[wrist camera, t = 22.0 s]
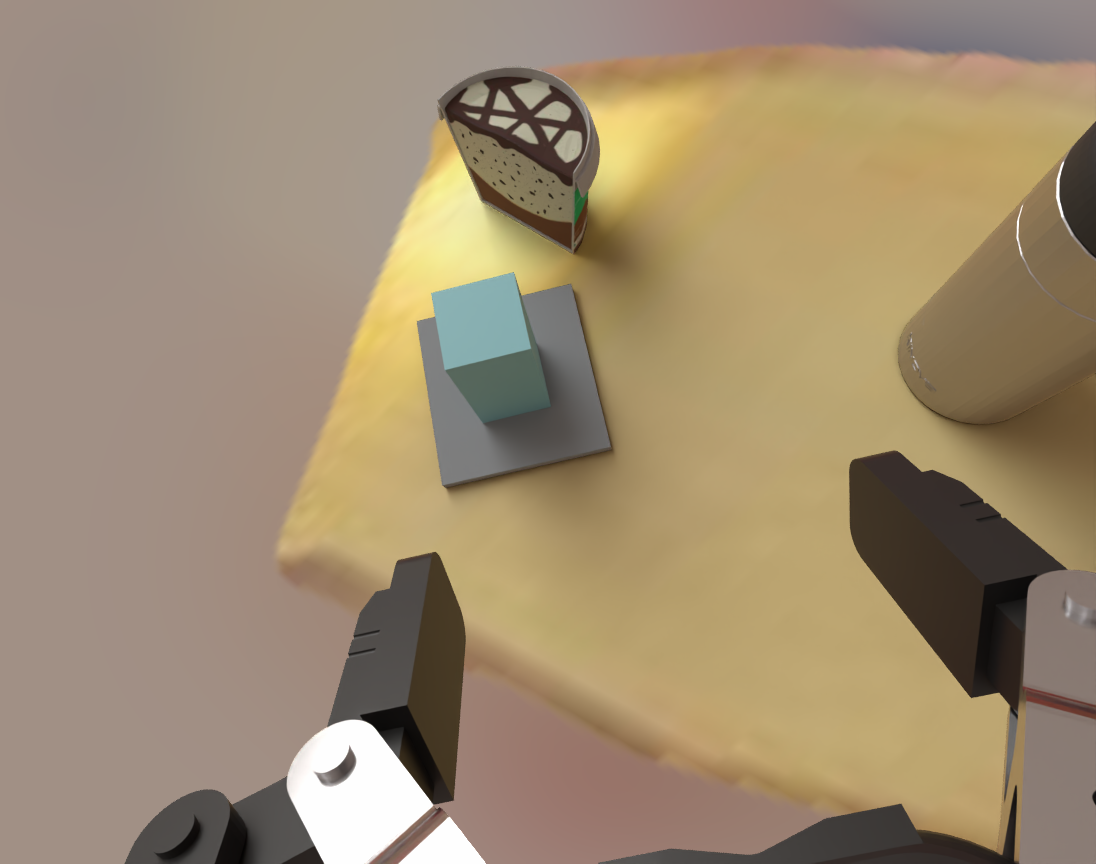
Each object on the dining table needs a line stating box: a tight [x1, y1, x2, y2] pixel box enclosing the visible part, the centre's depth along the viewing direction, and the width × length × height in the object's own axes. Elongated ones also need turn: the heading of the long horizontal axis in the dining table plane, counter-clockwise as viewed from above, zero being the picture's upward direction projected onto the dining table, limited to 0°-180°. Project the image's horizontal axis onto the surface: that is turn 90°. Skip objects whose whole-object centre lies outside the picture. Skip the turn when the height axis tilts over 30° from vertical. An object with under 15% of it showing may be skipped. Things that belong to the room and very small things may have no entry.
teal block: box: [431, 272, 551, 423], centre depth 41 cm, size 5×5×10 cm
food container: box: [437, 66, 600, 254], centre depth 46 cm, size 12×6×10 cm, turn 53°
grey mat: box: [417, 284, 611, 488], centre depth 46 cm, size 12×13×1 cm
